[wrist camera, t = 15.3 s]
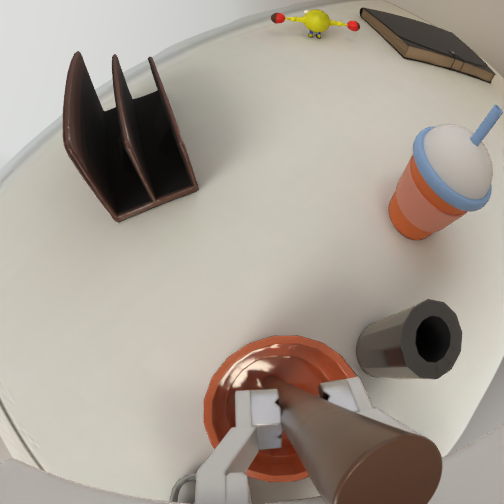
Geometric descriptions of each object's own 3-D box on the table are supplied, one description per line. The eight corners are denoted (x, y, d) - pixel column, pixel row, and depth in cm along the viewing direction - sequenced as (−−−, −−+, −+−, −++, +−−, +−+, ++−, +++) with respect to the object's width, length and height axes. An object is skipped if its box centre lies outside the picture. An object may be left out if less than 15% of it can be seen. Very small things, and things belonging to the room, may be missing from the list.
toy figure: (351, 36, 47) (356, 12, 41) (359, 47, 45) (366, 21, 39) (268, 29, 46) (269, 3, 40) (271, 40, 44) (273, 11, 38)
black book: (409, 44, 41) (361, 4, 50) (403, 59, 45) (358, 16, 54) (497, 74, 43) (449, 29, 52) (491, 84, 47) (445, 38, 56)
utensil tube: (413, 362, 24) (469, 356, 16) (366, 387, 24) (415, 393, 15) (395, 312, 26) (447, 288, 18) (348, 333, 26) (390, 317, 17)
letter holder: (116, 224, 30) (51, 141, 16) (102, 118, 36) (69, 46, 23) (200, 191, 31) (174, 87, 18) (163, 94, 38) (144, 16, 25)
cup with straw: (429, 267, 28) (543, 179, 11) (364, 223, 30) (448, 96, 13) (446, 210, 31) (530, 118, 14) (390, 171, 32) (453, 58, 16)
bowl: (352, 432, 22) (378, 447, 16) (236, 471, 21) (232, 497, 15) (316, 325, 26) (334, 314, 20) (198, 361, 25) (183, 361, 19)
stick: (283, 389, 23) (450, 493, 2) (265, 396, 22) (351, 553, 2) (276, 372, 23) (430, 411, 3) (258, 379, 23) (315, 476, 2)
